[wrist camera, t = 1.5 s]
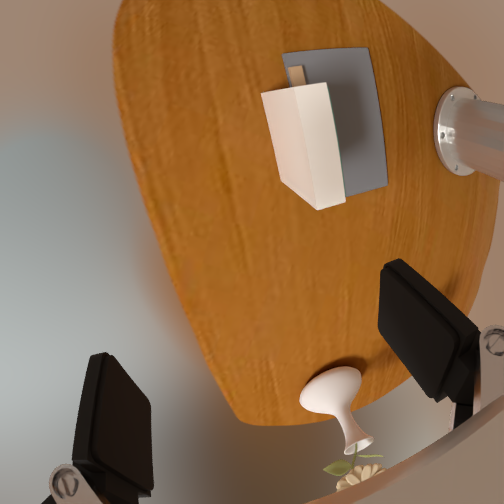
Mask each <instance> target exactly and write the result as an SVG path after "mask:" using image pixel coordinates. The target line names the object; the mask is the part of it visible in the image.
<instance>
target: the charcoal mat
mask: <svg viewBox="0 0 504 504" xmlns="http://www.w3.org/2000/svg"><path fill="white" fill-rule="evenodd" d="M282 58H283V61H284V65H285V69H286V73H287V78H288V82H289V86H290V88H291V87H297V86H303V85H310V84H317V83H325V82H326V84H327V86H328V87H329V92H330V97H331V102H332V107H333V112H334V117H335V123H336V129H337V135H338V141H339V147H340V153H341V160H342V167H343V175H344V182H345V190H346V197H348V196H352V195H355V194H359V193H362V192H366V191H369V190H373V189H376V188H380V187H384V186H387V185H388V180H387V167H386V156H385V146H384V137H383V129H382V122H381V114H380V108H379V101H378V95H377V90H376V84H375V79H374V74H373V69H372V64H371V60H370V55H369V51H368V48H337V49H322V50H310V51H301V52H292V53H285V54H282Z"/></svg>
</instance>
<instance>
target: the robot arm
mask: <svg viewBox="0 0 504 504" xmlns="http://www.w3.org/2000/svg"><path fill="white" fill-rule="evenodd" d="M434 140H435V146H436V149H437V153H438V156H439V158H440V160H441V162H442V163H443V165H444V166H445V167H446V168H447V169H448V170H449V171H450V172H452V173H454V174H457V175H460V176H466V175H469V174H471V173H473V172H474V171H475V170H477V171H479V172H482V173H484V174H487V175H489V176H491V177H494V178H496V179H498V180H501V181H503V182H504V105H502V104H497V103H491V102H486V101H481V100H480V98H479V97H478V95H477V94H476V93H475V92H473V91H472V90H471V89H469V88H466V87H453V88H450V89H449V90H447V91H446V92H445V93H444V94H443V96H442V97H441V99H440V101H439V103H438V106H437V109H436V113H435V118H434ZM378 329H379V332H380V334H381V335H382V336H383V338H384V339H385V340H386V342H387V343H388V344H389V345H390V347H391V348H392V349H393V351H394V352H395V353H396V355H397V356H398V357H399V359H400V360H401V361H402V362H403V364H404V365H405V366H406V368H407V369H408V370H409V372H410V373H411V375H412V376H413V377H414V379H415V380H416V381H417V382H418V384H419V385H420V387H421V388H422V389H423V391H424V392H425V394H426V395H427V396H428V397H429V398H434V399H435V401H436V402H437V403H438V402H439V401H441V400H442V399H444V398H445V397H447V396H448V397H449V398H450V399H451V401H452V408H451V416H450V424H449V431H448V434H446V435H445V436H443V437H442V438H440V439H439V440H437V441H436V442H434V443H433V444H431V445H430V446H428V447H426V448H425V449H423V450H421V451H420V452H418V453H416V454H415V455H413V456H411V457H409V458H408V459H406V460H404V461H402V462H400V463H399V464H397V465H395V466H393V467H391V468H389V469H387V470H385V471H383V472H381V473H379V474H377V475H375V476H373V477H371V478H368V479H366V480H364V481H362V482H360V483H357V484H355V485H353V486H350V487H348V488H346V489H343V490H341V491H338V492H335V493H333V494H330V495H328V496H325V497H322V498H319V499H316V500H313V501H310V502H307V503H304V504H504V327H503V326H499V325H491V326H488V327H486V328H485V329H484V330H483V331H482V332H480V331H479V330H478V327H477V326H476V325H475V324H474V323H473V322H472V321H471V320H470V319H469V318H468V317H466V316H465V315H464V314H463V313H462V312H461V311H460V310H459V309H458V308H457V307H456V306H455V305H454V304H453V303H451V302H450V301H449V300H448V299H447V298H446V297H445V296H444V295H443V294H442V293H440V292H439V291H438V290H437V289H436V288H435V287H434V286H433V285H431V284H430V283H429V282H428V281H427V280H426V279H425V278H423V277H422V276H421V275H420V274H419V273H417V272H416V271H415V270H414V269H413V268H412V267H410V266H409V265H408V264H407V263H406V262H404V261H403V260H402V259H399V258H398V259H396V260H393V261H391V262H388V263H386V264H385V265H384V267H383V269H382V270H381V272H380V296H379V314H378ZM72 460H73V465H70V464H63V465H60V466H58V467H56V468H55V469H54V471H53V472H52V474H51V476H50V480H49V488H50V492H51V495H50V496H49V497H48V498H47V499H46V500H45V501H44V502H43V503H42V504H139V502H138V498H139V497H151V490H153V488H154V480H153V465H152V464H153V463H152V439H151V405H150V402H149V400H148V398H147V397H146V396H145V395H144V393H143V392H142V391H141V390H140V389H139V387H138V386H137V385H136V384H135V383H134V381H133V380H132V379H131V378H130V376H129V375H128V374H127V373H126V371H125V370H124V369H123V368H122V366H121V365H120V364H119V362H118V361H117V360H116V358H115V357H114V356H113V355H109V354H108V353H106V352H104V353H99V354H95V355H92V356H90V359H89V363H88V367H87V371H86V376H85V381H84V385H83V390H82V395H81V401H80V406H79V411H78V418H77V423H76V430H75V437H74V444H73V453H72Z"/></svg>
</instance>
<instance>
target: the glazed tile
mask: <svg viewBox="0 0 504 504" xmlns="http://www.w3.org/2000/svg"><path fill="white" fill-rule="evenodd" d="M261 96H262V100H263V104H264V108H265V113H266V117H267V121H268V125H269V129H270V134H271V138H272V142H273V147H274V151H275V155H276V160H277V164H278V169H279V174H280V178H281V181H282V182H283V183H284V184H286V185H287V186H288V187H289V188H291V189H292V190H293V191H294V192H296V193H297V194H298V195H299V196H300V197H302V198H303V199H304V200H305V201H307V202H308V203H309V204H310V205H311V206H313V207H314V208H315V209H316V210H320V209H323V208H327V207H330V206H334V205H337V204H340V203H344V202H346V201H345V197H346V190H345V182H344V175H343V167H342V160H341V153H340V147H339V141H338V135H337V129H336V123H335V117H334V112H333V107H332V102H331V97H330V92H329V87H328V86H327V84H326V82H325V83H317V84H310V85H303V86H297V87H291V88H285V89H280V90H275V91H269V92H264V93H261Z"/></svg>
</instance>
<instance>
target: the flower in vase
mask: <svg viewBox="0 0 504 504" xmlns="http://www.w3.org/2000/svg"><path fill="white" fill-rule="evenodd" d="M361 381H362V379H361V373H360V371H359V370H357V369H355V368H352V367H348V366H343V367H337V368H333V369H330V370H328V371H325V372H323V373H321V374H320V375H318V376H316V377H315V378H313V379H312V380H311V381H310V382H309V383H308V384H307V385H306V386H305V387H304V388H303V390H302V392H301V395H300V404H301V405H302V406H303V407H304V408H305V409H307V410H309V411H312V412H316V413H326V414H332V415H334V416H336V418H337V419H338V420H339V422H340V424H341V426H342V429H343V431H344V435H345V439H346V447H345V450H344V454H352V453H354V457H353V461H352V466H351V464H350V463H348V462H347V461H345V460H342V459H340V460H337V461H335V462H334V463H332V464H330V465H329V466H327V467H326V468H325V469H324V471H326V472H328V473H331V474H333V475H337V476H341V475H343V474H345V473H346V472H347V471H348V470H349V469H350V468H351V470H350V472H349V474H347V475H346V476H343V477H342V479H341V480H339V481H338V483H337V487H336V488H337V489H338V490H337V491H336V492H338V491H341V490H343V489H346V488H348V487H350V486H353V485H355V484H357V483H360V482H362V481H364V480H366V479H368V478H371V477H373V476H375V475H377V474H379V473H381V472H383V471H385V470H387V469H385V468H383V469H381V468H382V465H381V464H376V463H375V464H373V465H372V464H367V465H366V466H365V467H364V466H363V465H360V466H356V467H355V468H353V467H354V462H355V458H356V454H357V452H358V451H360V450H362V449H364V448H366V447H367V446H369V445H370V444H371V443H372V442H373V441H374V437H372V436H369V435H367V434H366V433H364V432H363V431H362V430H361V429H360V428H359V426H358V425H357V423H356V422H355V420H354V419H353V416H352V415H351V411H350V405H351V403H352V401H353V399H354V397H355V396H356V394H357V392H358V390H359V388H360V385H361ZM358 456H361V457H374V456H381V455H358ZM381 457H382V456H381Z"/></svg>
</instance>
